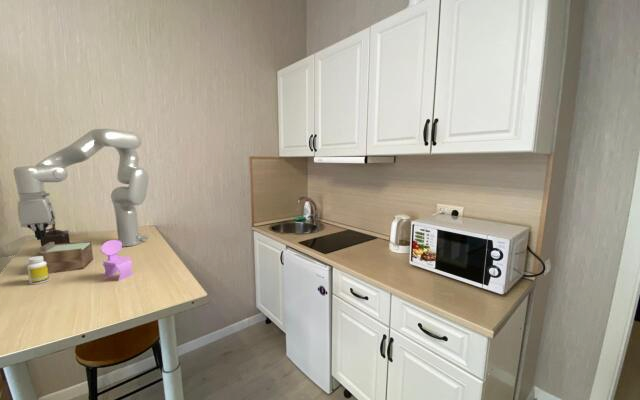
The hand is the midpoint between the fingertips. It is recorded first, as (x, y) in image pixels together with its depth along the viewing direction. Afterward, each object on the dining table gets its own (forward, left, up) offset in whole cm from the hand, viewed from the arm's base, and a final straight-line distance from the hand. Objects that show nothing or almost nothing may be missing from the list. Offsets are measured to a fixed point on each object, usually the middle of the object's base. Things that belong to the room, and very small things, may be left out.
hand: (41, 238), depth 117 cm
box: (-8, +1, -13) cm, 16 cm away
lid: (-8, +1, -5) cm, 9 cm away
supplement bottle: (-4, +15, -14) cm, 20 cm away
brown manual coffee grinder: (+5, -22, -14) cm, 27 cm away
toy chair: (-31, +21, -14) cm, 39 cm away
